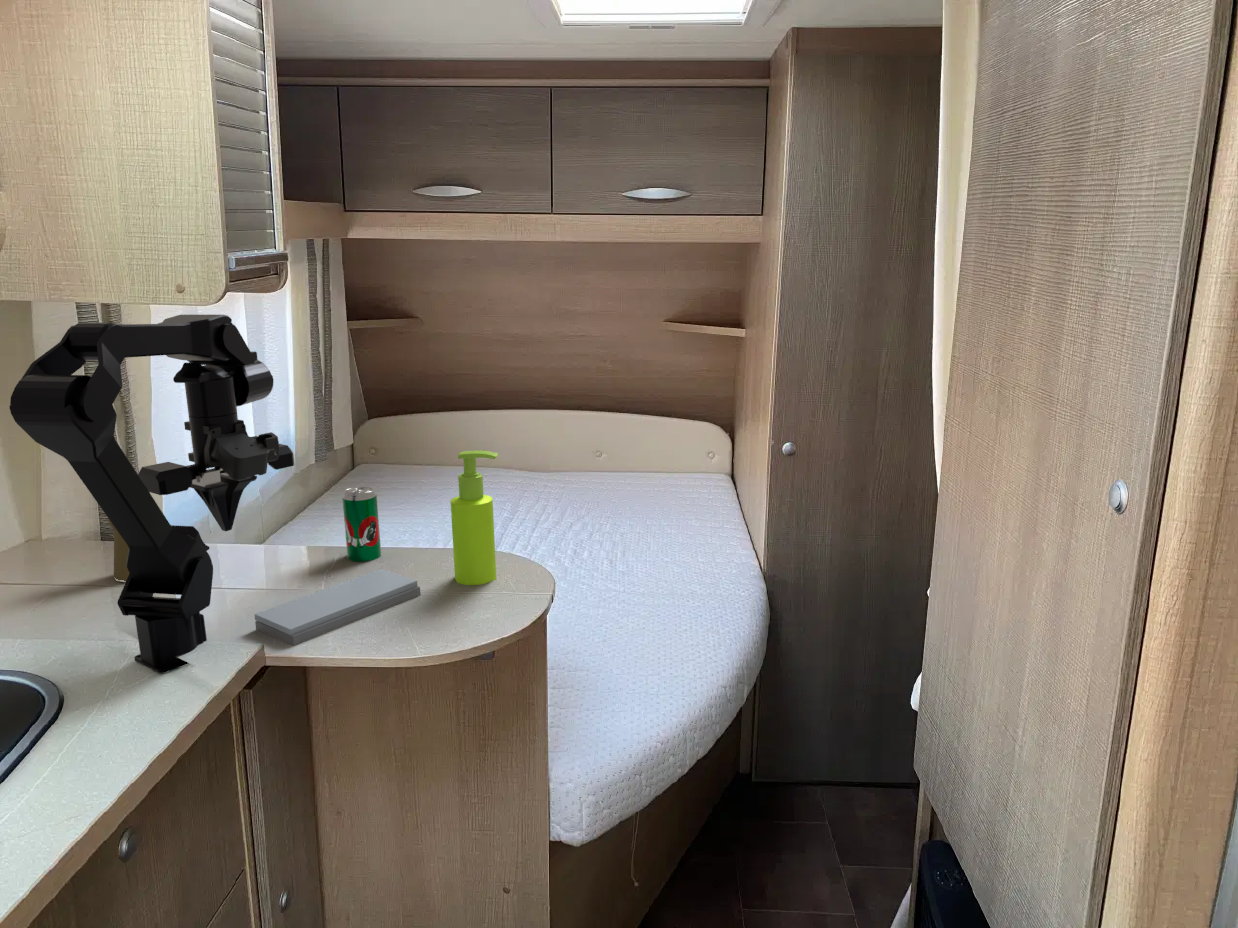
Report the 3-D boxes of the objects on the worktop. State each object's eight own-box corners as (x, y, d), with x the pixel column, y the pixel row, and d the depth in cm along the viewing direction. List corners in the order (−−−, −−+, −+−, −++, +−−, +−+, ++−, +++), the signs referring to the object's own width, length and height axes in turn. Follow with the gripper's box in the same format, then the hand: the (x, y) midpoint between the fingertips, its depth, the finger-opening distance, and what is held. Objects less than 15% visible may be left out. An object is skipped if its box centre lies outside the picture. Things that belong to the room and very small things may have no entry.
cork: (114, 585, 137) (103, 513, 135) (113, 573, 142) (102, 503, 140) (159, 577, 140) (150, 507, 137) (156, 566, 145) (147, 498, 143)
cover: (290, 635, 113) (290, 629, 112) (255, 619, 117) (254, 614, 117) (417, 586, 128) (417, 580, 128) (381, 573, 132) (381, 568, 132)
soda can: (386, 559, 147) (380, 485, 144) (375, 570, 142) (369, 494, 139) (355, 558, 147) (349, 485, 144) (343, 569, 142) (336, 494, 139)
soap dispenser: (500, 594, 132) (493, 456, 127) (451, 594, 132) (443, 456, 127) (506, 579, 137) (500, 447, 133) (460, 579, 138) (452, 447, 133)
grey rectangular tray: (295, 655, 113) (293, 636, 112) (257, 639, 118) (255, 621, 117) (421, 603, 128) (419, 586, 128) (383, 591, 133) (381, 575, 133)
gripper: (175, 433, 107) (192, 561, 111) (313, 408, 122) (324, 523, 125) (127, 422, 113) (144, 544, 117) (264, 400, 128) (275, 509, 132)
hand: (226, 530), depth 123 cm, fingers closed
